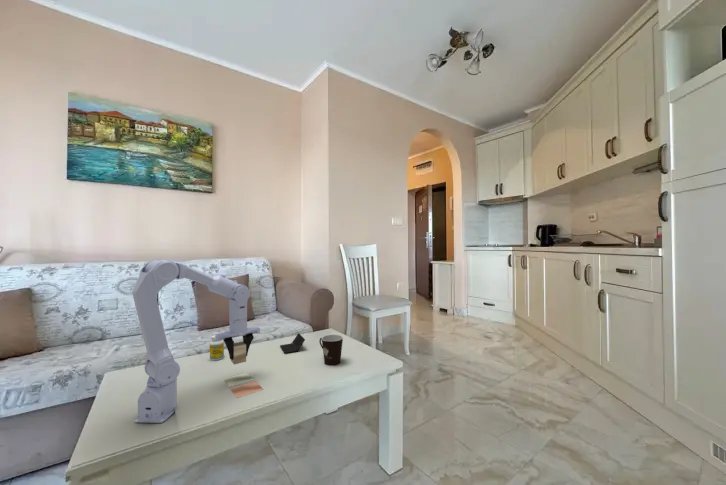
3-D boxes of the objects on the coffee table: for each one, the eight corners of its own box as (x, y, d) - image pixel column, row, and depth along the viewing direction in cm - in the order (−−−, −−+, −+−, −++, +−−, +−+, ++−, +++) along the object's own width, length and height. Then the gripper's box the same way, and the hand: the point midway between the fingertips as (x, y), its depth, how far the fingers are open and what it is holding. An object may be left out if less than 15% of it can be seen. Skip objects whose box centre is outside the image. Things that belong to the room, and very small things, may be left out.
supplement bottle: (222, 355, 131) (222, 333, 131) (224, 359, 127) (224, 336, 127) (209, 357, 128) (208, 335, 128) (210, 362, 124) (210, 338, 124)
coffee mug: (345, 364, 120) (345, 339, 120) (324, 368, 117) (324, 342, 117) (337, 354, 131) (337, 331, 131) (317, 357, 128) (317, 334, 128)
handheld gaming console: (275, 344, 140) (289, 326, 142) (286, 350, 144) (299, 332, 146) (284, 355, 130) (298, 335, 133) (296, 362, 134) (309, 342, 137)
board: (266, 393, 98) (266, 389, 98) (234, 403, 91) (234, 399, 91) (249, 374, 112) (249, 371, 112) (220, 382, 106) (220, 378, 106)
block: (246, 361, 105) (246, 344, 105) (234, 364, 102) (234, 346, 102) (242, 358, 108) (242, 341, 108) (230, 360, 105) (230, 343, 105)
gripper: (218, 324, 97) (218, 366, 97) (262, 317, 106) (263, 355, 106) (213, 320, 103) (213, 359, 103) (256, 313, 112) (256, 350, 112)
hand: (238, 357), depth 105 cm, fingers closed on block, 4 cm apart
